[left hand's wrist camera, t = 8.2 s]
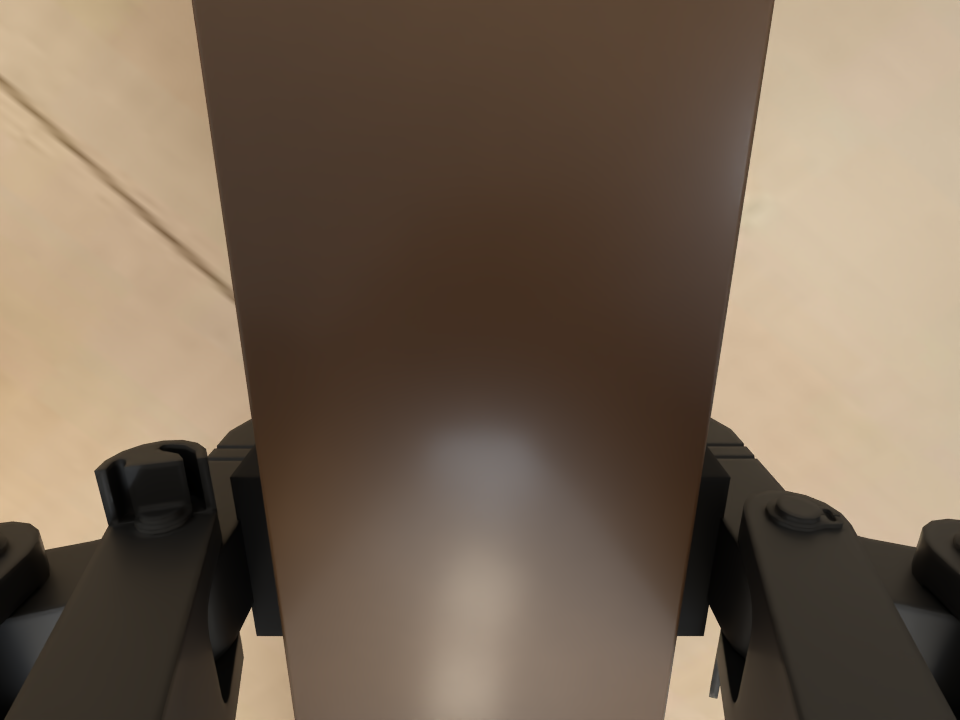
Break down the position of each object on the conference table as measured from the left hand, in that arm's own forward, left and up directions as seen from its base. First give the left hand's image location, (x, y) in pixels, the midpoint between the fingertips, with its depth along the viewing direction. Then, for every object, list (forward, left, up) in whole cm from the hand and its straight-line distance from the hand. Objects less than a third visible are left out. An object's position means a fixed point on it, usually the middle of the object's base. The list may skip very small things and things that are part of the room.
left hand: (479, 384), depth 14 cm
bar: (+3, +29, -1) cm, 29 cm away
